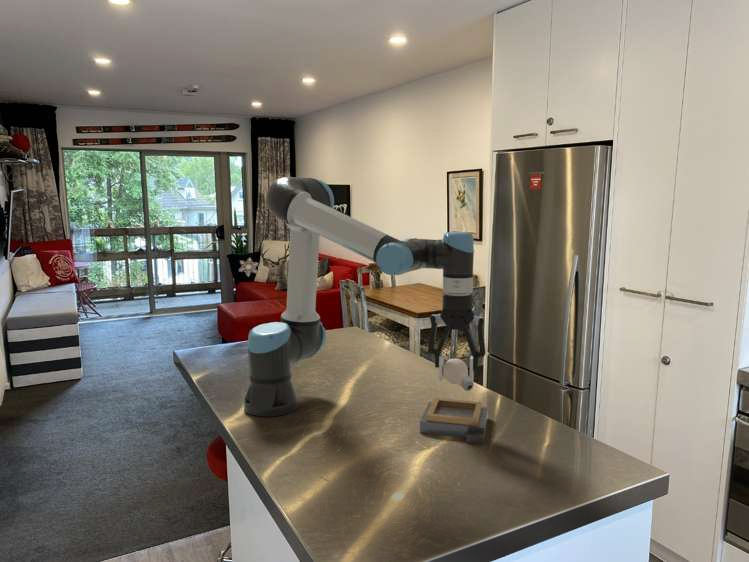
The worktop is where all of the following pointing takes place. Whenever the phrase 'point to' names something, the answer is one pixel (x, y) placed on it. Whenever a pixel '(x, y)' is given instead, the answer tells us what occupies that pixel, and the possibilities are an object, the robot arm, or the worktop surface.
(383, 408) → the worktop surface
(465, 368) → the light bulb
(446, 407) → the grey brown-rimmed square tray
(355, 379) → the worktop surface
